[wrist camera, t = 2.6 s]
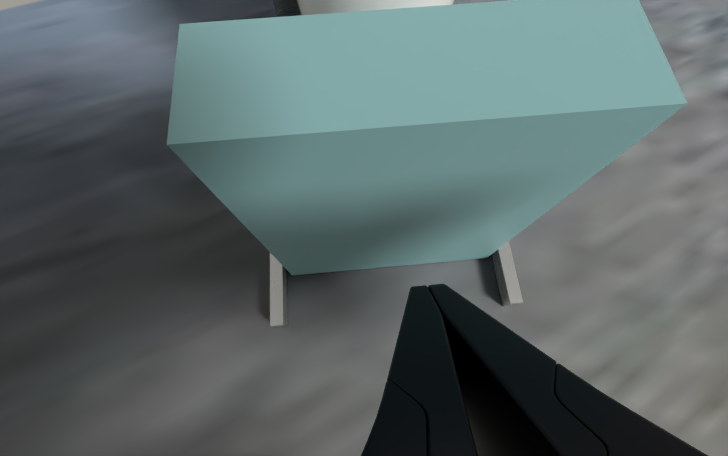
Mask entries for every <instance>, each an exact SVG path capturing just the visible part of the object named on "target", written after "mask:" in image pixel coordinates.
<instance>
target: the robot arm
mask: <svg viewBox="0 0 728 456" xmlns="http://www.w3.org/2000/svg"><path fill="white" fill-rule="evenodd" d="M361 456H708V455H706V454H704V453H702V452H701V451H699V450H697V449H696V448H694V447H692V446H691V445H689V444H687V443H686V442H684V441H682V440H681V439H679V438H677V437H675V436H674V435H672V434H670V433H669V432H667V431H665V430H664V429H662V428H660V427H659V426H657V425H655V424H653V423H652V422H650V421H648V420H647V419H645V418H643V417H642V416H640V415H638V414H637V413H635V412H633V411H632V410H630V409H628V408H627V407H625V406H623V405H622V404H620V403H619V402H617V401H615V400H614V399H612V398H610V397H609V396H607V395H605V394H604V393H602V392H601V391H599V390H598V389H596V388H595V387H593V386H592V385H590V384H589V383H587V382H586V381H584V380H583V379H581V378H580V377H578V376H577V375H575V374H574V373H572V372H571V371H569V370H568V369H566V368H565V367H564V366H562V365H561V364H557V365H556V361H555V360H553V359H552V358H550V357H549V356H547V355H546V354H545V353H543V352H542V351H540V350H539V349H537V348H536V347H535V346H533V345H532V344H530V343H529V342H527V341H526V340H524V339H523V338H522V337H520V336H519V335H517V334H516V333H514V332H513V331H511V330H510V329H509V328H507V327H506V326H504V325H503V324H501V323H500V322H498V321H497V320H496V319H494V318H493V317H491V316H490V315H488V314H487V313H485V312H484V311H483V310H481V309H480V308H478V307H477V306H475V305H474V304H473V303H471V302H470V301H468V300H467V299H465V298H464V297H462V296H461V295H460V294H458V293H457V292H455V291H454V290H452V289H451V288H449V287H448V286H447V285H445V284H436V285H429V286H428V287H427V286H414V287H411V288H410V292H409V296H408V300H407V304H406V307H405V311H404V315H403V319H402V323H401V327H400V331H399V335H398V339H397V343H396V347H395V351H394V355H393V359H392V363H391V367H390V371H389V375H388V379H387V382H386V386H385V389H384V393H383V397H382V400H381V404H380V407H379V410H378V414H377V417H376V419H375V422H374V425H373V427H372V430H371V433H370V435H369V438H368V440H367V443H366V445H365V447H364V450H363V452H362V454H361Z"/></svg>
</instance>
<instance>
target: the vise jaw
mask: <svg viewBox="0 0 728 456" xmlns="http://www.w3.org/2000/svg"><path fill="white" fill-rule="evenodd" d="M686 104H687V101H686V99H685V97H684V95H683V93H682V91H681V88H680V86H679V84H678V82H677V80H676V78H675V76H674V74H673V72H672V69H671V67H670V65H669V63H668V61H667V59H666V57H665V55H664V53H663V50H662V48H661V46H660V44H659V42H658V40H657V38H656V36H655V34H654V31H653V29H652V27H651V25H650V23H649V21H648V19H647V17H646V15H645V12H644V10H643V8H642V6H641V4H640V2H639V0H512V1H498V2H484V3H469V4H455V5H441V6H427V7H413V8H399V9H384V10H370V11H356V12H342V13H328V14H313V15H299V16H285V17H271V18H257V19H243V20H228V21H214V22H200V23H186V24H179V34H178V43H177V52H176V61H175V71H174V80H173V89H172V99H171V108H170V117H169V126H168V136H167V146H168V147H169V148H170V149H171V150H172V151H173V152H174V153H175V154H176V155H177V156H178V157H179V158H180V159H181V160H182V161H183V162H184V163H185V164H186V165H187V167H188V168H189V169H190V170H191V171H192V172H193V173H194V174H195V175H196V176H197V177H198V178H199V179H200V180H201V181H202V182H203V183H204V184H205V185H206V186H207V187H208V188H209V189H210V190H211V191H212V193H213V194H214V195H215V196H216V197H217V198H218V199H219V200H220V201H221V202H222V203H223V204H224V205H225V206H226V207H227V208H228V209H229V210H230V211H231V212H232V213H233V214H234V215H235V216H236V217H237V219H238V220H239V221H240V222H241V223H242V224H243V225H244V226H245V227H246V228H247V229H248V230H249V231H250V232H251V233H252V234H253V235H254V236H255V237H256V238H257V239H258V240H259V241H260V242H261V244H262V245H263V246H264V247H265V248H266V249H267V250H268V251H269V252H270V253H271V254H272V255H273V256H274V257H275V258H276V259H277V260H278V261H279V262H280V263H281V264H282V265H283V266H284V267H285V268H286V270H287V271H288V272H289V273H290V274H291V275H302V274H313V273H324V272H336V271H347V270H358V269H369V268H380V267H391V266H402V265H414V264H425V263H436V262H447V261H458V260H469V259H480V258H488V257H489V256H490V255H491V254H493V253H494V252H495V251H497V250H498V249H499V248H500V247H502V246H503V245H504V244H506V243H507V242H508V241H510V240H511V239H512V238H513V237H515V236H516V235H517V234H519V233H520V232H521V231H523V230H524V229H525V228H526V227H528V226H529V225H530V224H532V223H533V222H534V221H536V220H537V219H538V218H539V217H541V216H542V215H543V214H545V213H546V212H547V211H549V210H550V209H551V208H552V207H554V206H555V205H556V204H558V203H559V202H560V201H561V200H563V199H564V198H565V197H567V196H568V195H569V194H571V193H572V192H573V191H574V190H576V189H577V188H578V187H580V186H581V185H582V184H584V183H585V182H586V181H587V180H589V179H590V178H591V177H593V176H594V175H595V174H597V173H598V172H599V171H600V170H602V169H603V168H604V167H606V166H607V165H608V164H610V163H611V162H612V161H613V160H615V159H616V158H617V157H619V156H620V155H621V154H622V153H624V152H625V151H626V150H628V149H629V148H630V147H632V146H633V145H634V144H635V143H637V142H638V141H639V140H641V139H642V138H643V137H645V136H646V135H647V134H648V133H650V132H651V131H652V130H654V129H655V128H656V127H658V126H659V125H660V124H661V123H663V122H664V121H665V120H667V119H668V118H669V117H671V116H672V115H673V114H674V113H676V112H677V111H678V110H680V109H681V108H682V107H683V106H685V105H686Z"/></svg>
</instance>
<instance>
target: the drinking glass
mask: <svg viewBox="0 0 728 456" xmlns="http://www.w3.org/2000/svg"><path fill="white" fill-rule="evenodd" d="M297 2H298V6H299V9H300V12H301V15H313V14H328V13H342V12H356V11H370V10H384V9H399V8H413V7H427V6H441V5H453V3H454V0H297Z"/></svg>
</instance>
